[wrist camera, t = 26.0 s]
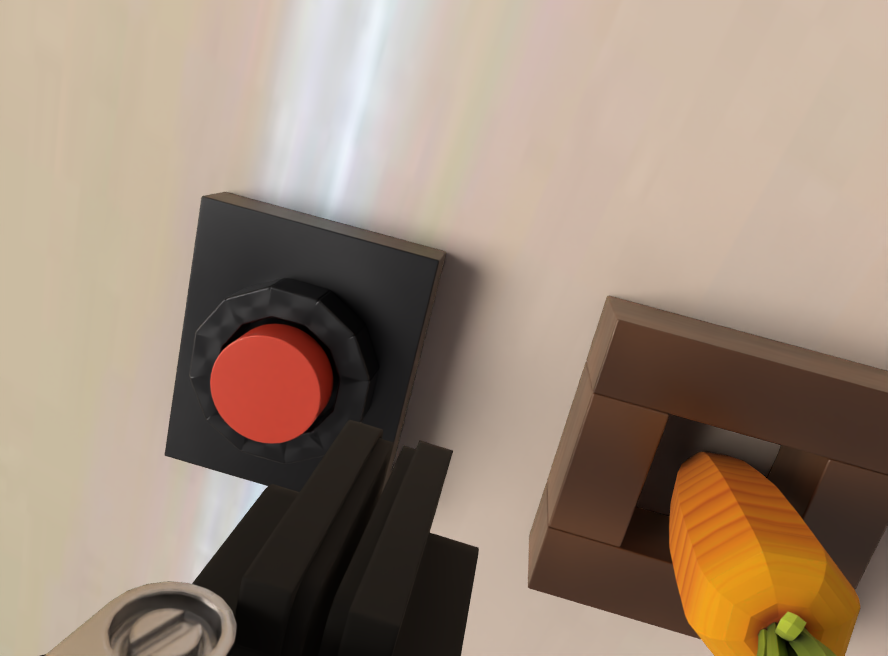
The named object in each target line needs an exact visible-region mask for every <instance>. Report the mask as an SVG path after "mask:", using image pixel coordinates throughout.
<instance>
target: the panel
mask: <svg viewBox="0 0 888 656" xmlns="http://www.w3.org/2000/svg"><path fill="white" fill-rule="evenodd" d="M445 256H446V252H445V251H442V250H438V249H434V248H431V247H427V246H423V245H420V244H416V243H412V242H409V241H405V240H401V239H397V238H394V237H390V236H386V235H383V234H379V233H375V232H372V231H368V230H364V229H361V228H357V227H353V226H349V225H346V224H342V223H338V222H335V221H331V220H327V219H324V218H320V217H316V216H312V215H309V214H305V213H301V212H298V211H294V210H290V209H287V208H283V207H279V206H276V205H272V204H268V203H264V202H261V201H257V200H253V199H250V198H246V197H242V196H239V195H235V194H231V193H227V192H222V193H217V194H211V195H206V196H202V198H201V205H200V212H199V219H198V226H197V233H196V240H195V247H194V254H193V261H192V268H191V275H190V282H189V289H188V296H187V303H186V310H185V317H184V324H183V331H182V338H181V345H180V352H179V359H178V366H177V373H176V380H175V387H174V394H173V401H172V407H171V414H170V421H169V428H168V435H167V442H166V449H165V456H168V457H171V458H175V459H178V460H182V461H185V462H188V463H192V464H195V465H199V466H202V467H205V468H209V469H212V470H215V471H219V472H222V473H226V474H229V475H232V476H236V477H239V478H243V479H246V480H249V481H253V482H256V483H260V484H263V485H266V486H269V485H271V484H275V485H278V486H281V487H284V488H287V489H291V490H294V491H297V492H300V491H301V489H302V488H303V487H304V485H305V484H306V482H307V481H308V479H309V478H310V476H311V475H312V473H313V472H314V470H315V469H316V467H317V466H318V464H319V463H320V461H321V460H322V458H323V457H324V455H325V454H326V452H327V451H328V450H329V448H330V447H331V445H332V444H333V442H334V441H335V439H336V438H337V436H338V435H339V433H340V432H341V430H342V429H343V427H344V426H345V424H346V423H347V421H348V420H353V421H356V422H360V423H363V424H366V425H369V426H373V427H376V428H379V429H383V437H382V439H384V440H387V441H390V442H393V449H392V453H391V457H390V461H389V465H388V468H387V472H386V476H385V480H384V484H383V488H382V492H383V489H384V487H385V485H386V483H387V481H388V479H389V476H390V474H391V471H392V467H393V463H394V459H395V455H396V451H397V447H398V443H399V439H400V435H401V431H402V427H403V423H404V419H405V415H406V411H407V407H408V403H409V399H410V395H411V391H412V387H413V383H414V379H415V375H416V371H417V367H418V363H419V359H420V355H421V351H422V347H423V343H424V339H425V335H426V331H427V327H428V323H429V319H430V315H431V311H432V307H433V303H434V299H435V295H436V292H437V288H438V284H439V280H440V276H441V272H442V268H443V264H444V260H445ZM266 324H285V325H289V326H292V327H295V328H298V329H300V330H302V331H304V332H305V333H307V334H308V335H310V336H311V337H312V338H313V339H315V340H316V341H317V342H318V344H319V345H320V346H321V347H322V349H323V350H324V351H325V353H326V355H327V357H328V359H329V361H330V364H331V367H332V372H333V390H332V394H331V397H330V399H329V402H328V404H327V405H326V407H325V408H324V410H323V411H322V412H321V413H320V415H319V416H318V417H317V419H316V420H315V421H314V422H313V424H312V425H311V426H310V427H309V428H308V430H306V431H305V432H304V433H303V434H301V435H300V436H298V437H297V438H294V439H292V440H290V441H286V442H282V443H262V442H258V441H254V440H251V439H249V438H247V437H245V436H243V435H241V434H239V433H238V432H236V431H235V430H234V429H233V428H231V427H230V426H229V425H228V424H227V423H226V422H225V420H224V419H223V418H222V417H221V415H220V414H219V412H218V410H217V408H216V406H215V404H214V401H213V398H212V393H211V384H210V381H211V373H212V369H213V366H214V363H215V361H216V359H217V357H218V356H219V354H220V353H221V352H222V351H223V350H224V349H225V348H226V347H227V346H228V345H229V344H231V343H232V342H234V341H235V340H237V339H238V338H240V337H241V336H242V335H244V334H245V333H247V332H248V331H250V330H252V329H254V328H256V327H258V326H261V325H266ZM382 492H381V494H382Z"/></svg>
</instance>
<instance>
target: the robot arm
mask: <svg viewBox="0 0 888 656" xmlns="http://www.w3.org/2000/svg"><path fill="white" fill-rule="evenodd" d="M382 437H383V429H379V428H376V427H373V426H369V425H366V424H363V423H360V422H356V421H353V420H348V421H347V423H346V424H345V426H344V427H343V429H342V430H341V432H340V433H339V435H338V436H337V438H336V439H335V441H334V442H333V444H332V445H331V447H330V448H329V450H328V451H327V452H326V454H325V455H324V457H323V458H322V460H321V461H320V463H319V464H318V466H317V467H316V469H315V470H314V472H313V473H312V475H311V476H310V478H309V479H308V481H307V482H306V484H305V485H304V487H303V488H302V489H301V491H300V492H297V491H294V490H291V489H287V488H284V487H281V486H278V485H275V484H271V485H269V486H268V487H267V488H266V489H265V490H264V491H263V493H262V494H261V495H260V497H259V498H258V499H257V500H256V502H255V503H254V504H253V506H252V507H251V508H250V510H249V511H248V512H247V513H246V515H245V516H244V517H243V519H242V520H241V521H240V522H239V524H238V525H237V526H236V528H235V529H234V530H233V532H232V533H231V534H230V535H229V537H228V538H227V539H226V541H225V542H224V543H223V544H222V546H221V547H220V548H219V550H218V551H217V552H216V554H215V555H214V556H213V557H212V559H211V560H210V561H209V563H208V564H207V565H206V566H205V568H204V569H203V570H202V572H201V573H200V574H199V575H198V577H197V578H196V579H195V581H194V582H193V583H192V584H190V583H182V582H170V581H167V582H159V583H151V584H146V585H143V586H140V587H137V588H134V589H131V590H128V591H126V592H125V593H123V594H121V595H120V596H118V597H117V598H115V599H113V600H112V601H110V602H109V603H108V604H107V605H105V606H104V607H103V608H102V609H101V610H99V611H98V612H97V613H96V614H95V615H93V616H92V617H91V618H90V619H88V620H87V621H86V622H85V623H84V624H82V625H81V626H80V627H79V628H78V629H76V630H75V631H74V632H73V633H71V634H70V635H69V636H68V637H67V638H65V639H64V640H63V641H62V642H61V643H59V644H58V645H57V646H56V647H54V648H53V649H52V650H51V651H50V652H48V653H47V654H45V655H41V656H461V651H462V645H463V640H464V634H465V628H466V622H467V616H468V611H469V605H470V599H471V593H472V587H473V582H474V576H475V570H476V564H477V558H478V551H479V549H478V547H474V546H471V545H468V544H465V543H461V542H458V541H455V540H452V539H449V538H445V537H442V536H439V535H436V534H432V533H430V529H431V526H432V522H433V519H434V515H435V512H436V508H437V505H438V501H439V498H440V494H441V491H442V488H443V484H444V481H445V477H446V474H447V470H448V467H449V463H450V460H451V456H452V453H453V451H452V450H449V449H446V448H442V447H439V446H436V445H432V444H429V443H426V442H423V441H419V443H418V445H417V448H416V449H414V448H410V447H407V446H403V448H402V450H401V452H400V454H399V457H398V459H397V461H396V463H395V465H394V468H393V470H392V472H391V474H390V476H389V479H388V481H387V483H386V485H385V487H384V489H383V492H382V488H383V484H384V480H385V476H386V472H387V468H388V465H389V461H390V457H391V453H392V449H393V442H390V441H387V440H384V439H382ZM381 492H382V494H381Z"/></svg>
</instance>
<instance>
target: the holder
mask: <svg viewBox="0 0 888 656" xmlns="http://www.w3.org/2000/svg"><path fill="white" fill-rule="evenodd" d="M669 414H672V415H676V416H679V417H683V418H686V419H690V420H693V421H697V422H701V423H704V424H708V425H711V426H715V427H719V428H722V429H726V430H729V431H733V432H737V433H740V434H744V435H747V436H751V437H754V438H758V439H762V440H765V441H769V442H772V443H776V444H780V445H782V446H781V448H780V450H779V453H778V455H777V457H776V460H775V462H774V464H773V467H772V469H771V471H770V474H769V476H768V478H767V479H768V480H769V481H771V482H772V483H773V484H774V485H775V486H776V487H777V488H778V489H779V490H780V492H781V493H782V494H783V495H784V496H785V498H786V499H787V500H788V501H789V503H790V504H791V505H792V506H793V508H794V509H795V510H796V511H797V513H798V514H799V515H800V517H801V518H802V519H803V521H804V522H805V523H806V525H807V526H808V527H809V529H810V530H811V531H812V533H813V534H814V535H815V537H816V538H817V540H818V541H819V542H820V544H821V545H822V546H823V548H824V549H825V550H826V552H827V553H828V554H829V556H830V557H831V558H832V560H833V561H834V562H835V564H836V565H837V567H838V568H839V569H840V571H841V572H842V573H843V575H844V576H845V577H846V579H847V580H848V582H849V583H850V584H851V586H852V587H853V588H854V590H855V589H856V587H857V585H858V583H859V581H860V579H861V577H862V575H863V573H864V571H865V569H866V567H867V565H868V563H869V561H870V559H871V557H872V555H873V553H874V551H875V549H876V547H877V545H878V543H879V541H880V539H881V537H882V535H883V533H884V531H885V529H886V527H887V525H888V371H885V370H882V369H878V368H874V367H871V366H867V365H863V364H859V363H856V362H852V361H848V360H845V359H841V358H837V357H834V356H830V355H826V354H823V353H819V352H815V351H811V350H808V349H804V348H800V347H797V346H793V345H789V344H786V343H782V342H778V341H774V340H771V339H767V338H763V337H760V336H756V335H752V334H749V333H745V332H741V331H738V330H734V329H730V328H726V327H723V326H719V325H715V324H712V323H708V322H704V321H701V320H697V319H693V318H689V317H686V316H682V315H678V314H675V313H671V312H667V311H664V310H660V309H656V308H653V307H649V306H645V305H641V304H638V303H634V302H630V301H627V300H623V299H619V298H616V297H612V296H607V298H606V302H605V305H604V308H603V311H602V314H601V317H600V320H599V323H598V326H597V329H596V332H595V335H594V338H593V341H592V344H591V348H590V351H589V354H588V357H587V362H586V363H585V366H584V369H583V372H582V375H581V379H580V382H579V385H578V388H577V391H576V394H575V397H574V400H573V403H572V406H571V409H570V412H569V415H568V418H567V421H566V425H565V428H564V431H563V434H562V437H561V440H560V443H559V446H558V449H557V452H556V455H555V458H554V461H553V464H552V468H551V471H550V474H549V477H548V482H547V483H546V486H545V489H544V492H543V495H542V498H541V501H540V504H539V507H538V510H537V513H536V516H535V519H534V523H533V526H532V529H531V532H530V535H529V565H528V588H530V589H533V590H537V591H540V592H543V593H547V594H550V595H554V596H557V597H560V598H564V599H567V600H570V601H574V602H577V603H580V604H584V605H587V606H591V607H594V608H597V609H601V610H604V611H607V612H611V613H614V614H618V615H621V616H624V617H628V618H631V619H634V620H638V621H641V622H645V623H648V624H651V625H655V626H658V627H661V628H665V629H668V630H672V631H675V632H678V633H682V634H685V635H688V636H692V637H695V638H698V639H701V638H700V637H699V636H698V634H697V633H696V632H695V631H694V629H693V628H692V627H691V625H690V624H689V623H688V620H687V618H686V616H685V613H684V609H683V605H682V601H681V597H680V593H679V589H678V585H677V582H676V577H675V572H674V567H673V562H672V558H671V553H670V548H669V520H670V516H666V515H663V514H659V513H656V512H652V511H649V510H645V509H642V508H638V507H636V504H637V501H638V499H639V496H640V493H641V491H642V488H643V485H644V483H645V480H646V477H647V474H648V472H649V469H650V466H651V464H652V461H653V458H654V456H655V453H656V450H657V448H658V445H659V442H660V440H661V437H662V434H663V431H664V429H665V426H666V423H667V421H668V418H669Z"/></svg>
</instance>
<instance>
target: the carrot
mask: <svg viewBox="0 0 888 656" xmlns="http://www.w3.org/2000/svg"><path fill="white" fill-rule="evenodd" d="M669 548H670V553H671V558H672V562H673V567H674V572H675V577H676V582H677V585H678V589H679V593H680V597H681V601H682V605H683V609H684V613H685V616H686V618H687V620H688V623H689V624H690V625H691V627H692V628H693V629H694V631H695V632H696V633H697V634H698V636H699V637H700V638H701V639H702V641H703V642H704V643H705V644H706V646H707V647H708V648H709V650H710V651H711V652H712V653H713V655H714V656H845V653H846V650H847V647H848V644H849V641H850V638H851V635H852V632H853V629H854V626H855V623H856V620H857V617H858V614H859V611H860V602H859V598H858V596H857V594H856V592H855V590H854V588H853V587H852V586H851V584H850V583H849V582H848V580H847V579H846V577H845V576H844V575H843V573H842V572H841V571H840V569H839V568H838V567H837V565H836V564H835V562H834V561H833V560H832V558H831V557H830V556H829V554H828V553H827V552H826V550H825V549H824V548H823V546H822V545H821V544H820V542H819V541H818V540H817V538H816V537H815V535H814V534H813V533H812V531H811V530H810V529H809V527H808V526H807V525H806V523H805V522H804V521H803V519H802V518H801V517H800V515H799V514H798V513H797V511H796V510H795V509H794V508H793V506H792V505H791V504H790V503H789V501H788V500H787V499H786V498H785V496H784V495H783V494H782V493H781V492H780V490H779V489H778V488H777V487H776V486H775V485H774V484H773V483H772V482H771V481H769V480H768V479H767V478H766V477H765V476H763V475H762V474H761V473H760V472H759V471H757V470H756V469H754V468H753V467H751V466H750V465H749V464H747V463H746V462H744V461H743V460H740V459H737V458H734V457H731V456H728V455H722V454H716V453H709V452H703V451H702V452H698V453H696V454H695V455H693V456H691V457H690V458H688V459H687V460H686V461H685V462H683V463H682V465H681V467H680V469H679V471H678V473H677V478H676V482H675V486H674V491H673V495H672V500H671V505H670V520H669Z"/></svg>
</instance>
